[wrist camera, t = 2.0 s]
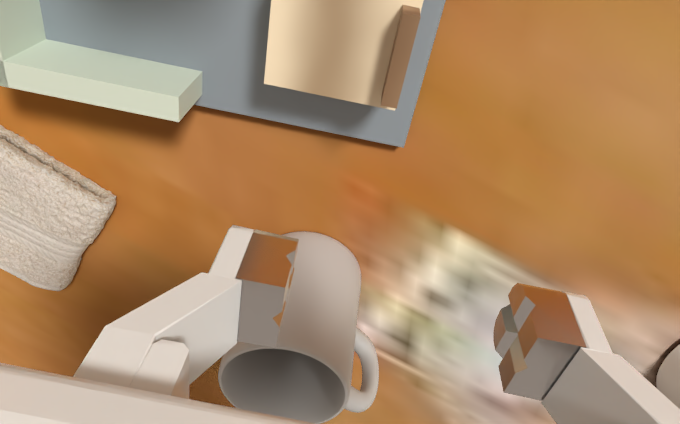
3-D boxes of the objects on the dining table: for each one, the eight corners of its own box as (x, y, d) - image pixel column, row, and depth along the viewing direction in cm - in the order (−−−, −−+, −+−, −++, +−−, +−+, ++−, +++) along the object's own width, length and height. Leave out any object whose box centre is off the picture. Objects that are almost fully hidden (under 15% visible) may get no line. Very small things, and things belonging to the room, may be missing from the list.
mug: (236, 270, 41) (190, 385, 32) (300, 210, 37) (269, 323, 28) (345, 343, 45) (331, 464, 36) (414, 296, 41) (418, 420, 32)
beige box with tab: (423, -26, 26) (427, -2, 21) (395, 83, 29) (394, 123, 25) (290, -55, 26) (267, -36, 21) (278, 59, 29) (256, 95, 25)
